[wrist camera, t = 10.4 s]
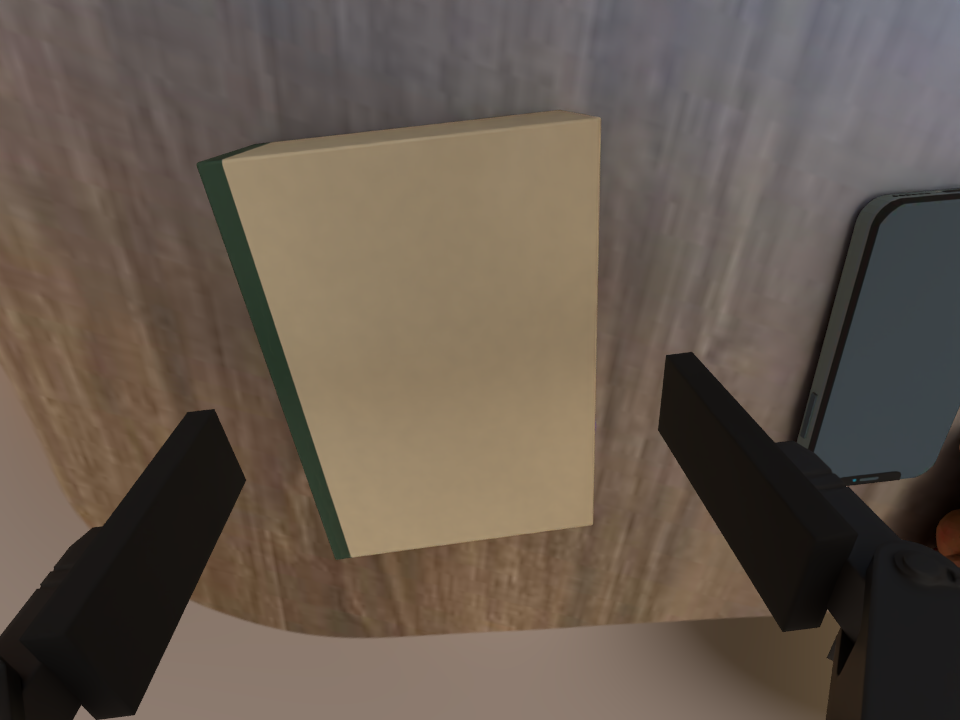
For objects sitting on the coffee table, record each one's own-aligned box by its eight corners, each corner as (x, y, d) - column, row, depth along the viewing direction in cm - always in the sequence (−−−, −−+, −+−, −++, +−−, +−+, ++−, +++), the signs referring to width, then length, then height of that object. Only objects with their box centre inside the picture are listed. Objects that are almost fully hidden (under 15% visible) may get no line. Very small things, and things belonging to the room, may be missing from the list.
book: (252, 144, 18) (194, 163, 13) (561, 109, 18) (602, 116, 14) (351, 479, 26) (334, 560, 21) (566, 451, 26) (593, 525, 22)
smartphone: (1064, 183, 20) (934, 479, 27) (1020, 178, 21) (907, 459, 28) (881, 200, 19) (797, 494, 26) (849, 193, 21) (777, 473, 28)
